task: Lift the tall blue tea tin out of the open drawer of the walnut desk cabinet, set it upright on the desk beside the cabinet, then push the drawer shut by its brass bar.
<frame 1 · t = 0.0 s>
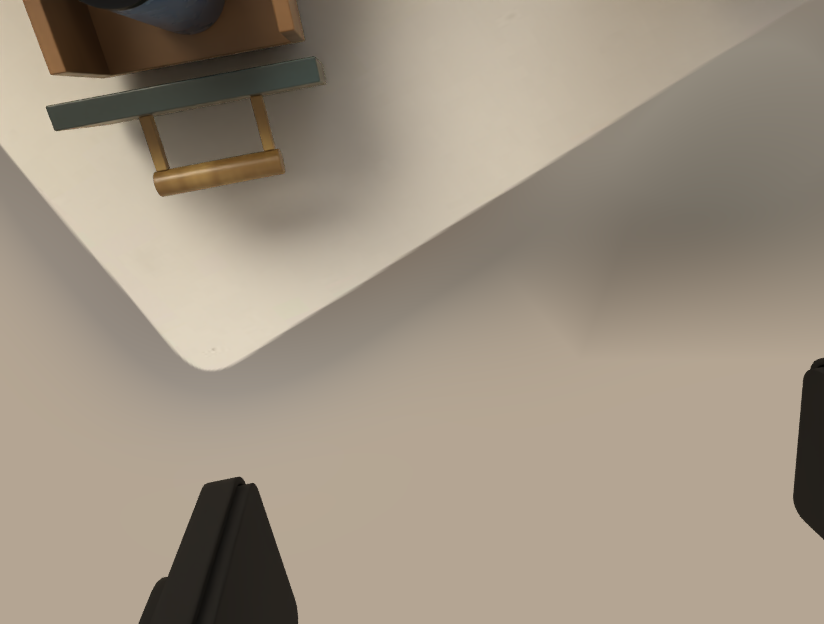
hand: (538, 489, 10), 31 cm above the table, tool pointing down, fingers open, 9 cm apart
drawer: (175, 2, 30), point 4 cm above the table, slide at 10.0 cm, touching tin
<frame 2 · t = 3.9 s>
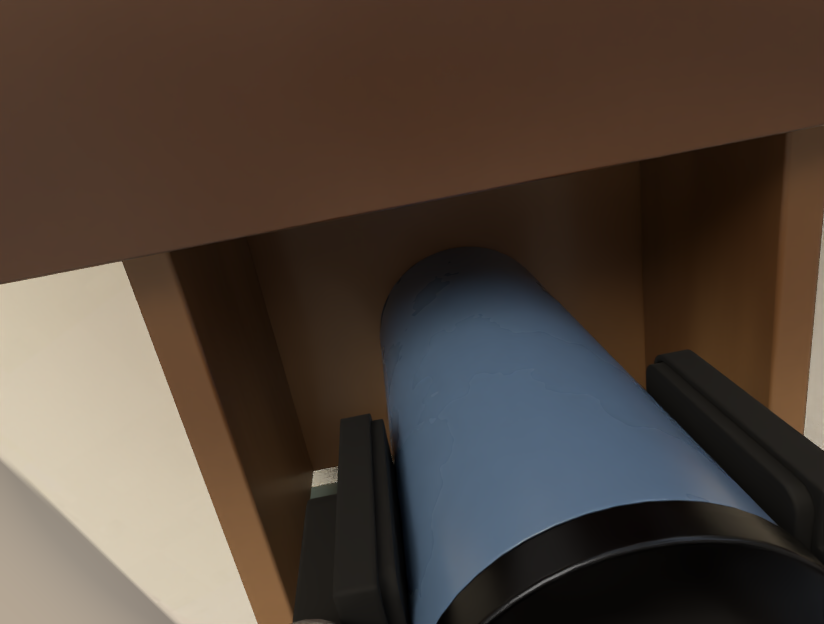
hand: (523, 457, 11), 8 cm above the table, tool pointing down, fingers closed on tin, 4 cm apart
drawer: (486, 402, 15), point 4 cm above the table, slide at 10.0 cm, touching tin
tin: (464, 328, 16), point 2 cm above the table, touching drawer, gripper
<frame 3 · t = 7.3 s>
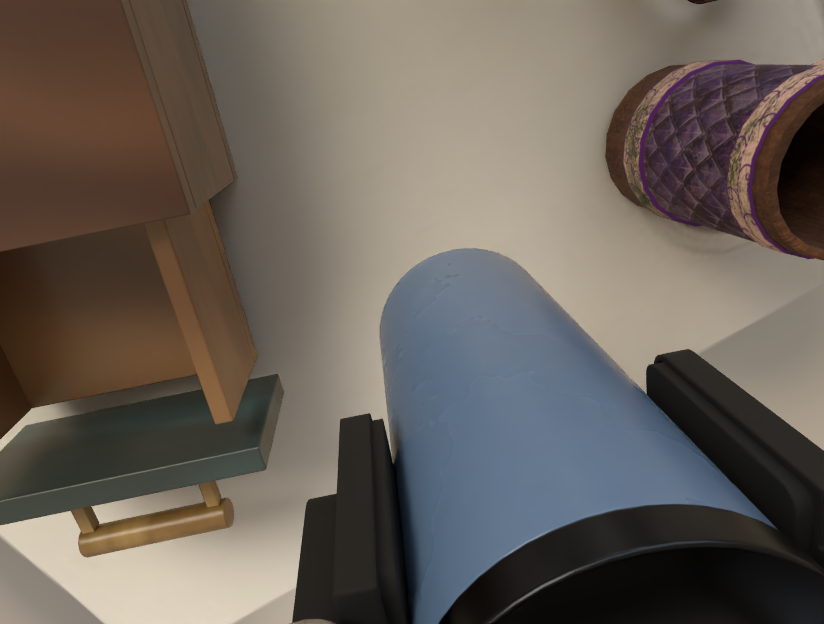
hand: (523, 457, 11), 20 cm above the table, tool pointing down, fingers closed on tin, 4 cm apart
drawer: (97, 361, 26), point 4 cm above the table, slide at 10.0 cm
mug: (696, 123, 29), on the table
tin: (464, 330, 16), point 14 cm above the table, touching gripper
cabinet: (15, 28, 24), on the table
when the fingers open (6 cm above the table, at t = 10.7 s): tin stays where it is, on the table.
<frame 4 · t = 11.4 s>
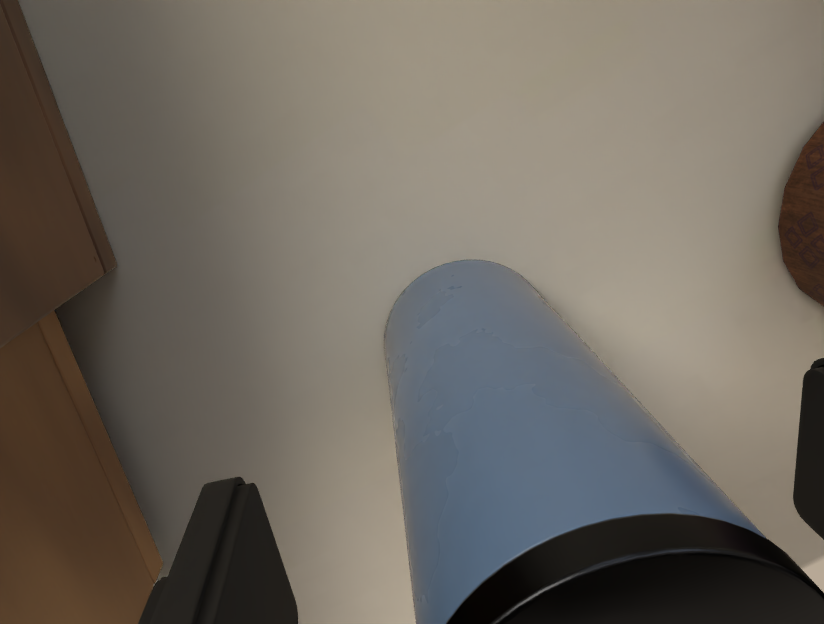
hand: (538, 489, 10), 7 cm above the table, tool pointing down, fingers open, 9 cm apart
tin: (466, 339, 17), on the table
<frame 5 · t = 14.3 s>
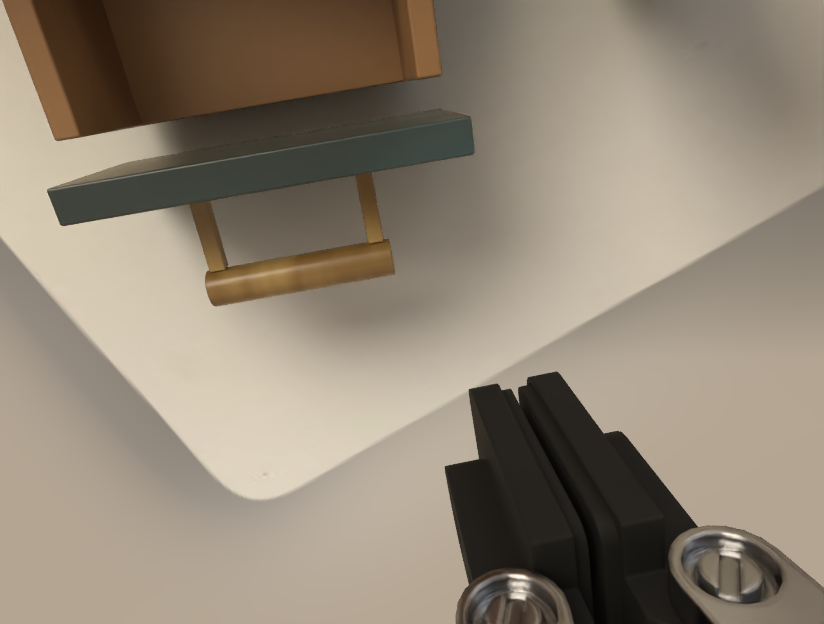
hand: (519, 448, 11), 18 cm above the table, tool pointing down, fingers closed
drawer: (246, 25, 20), point 4 cm above the table, slide at 10.0 cm
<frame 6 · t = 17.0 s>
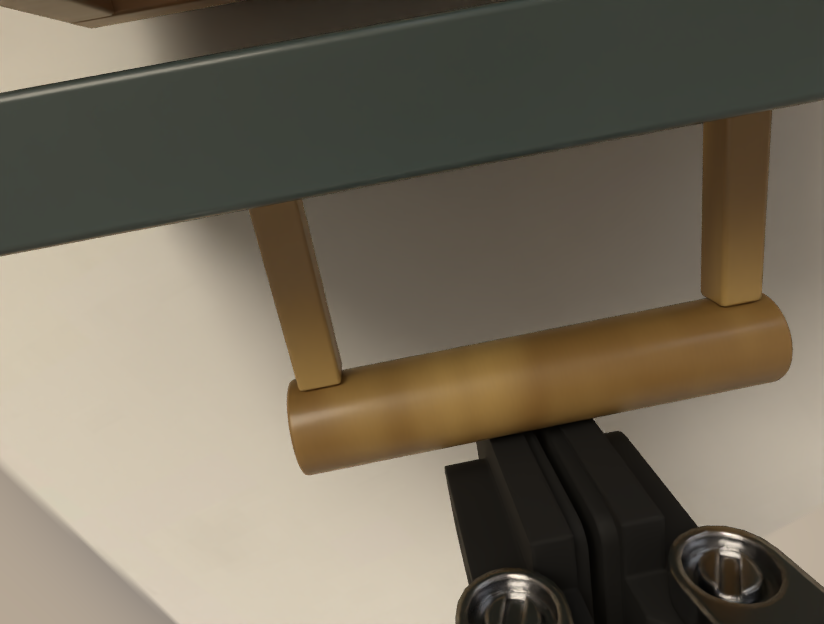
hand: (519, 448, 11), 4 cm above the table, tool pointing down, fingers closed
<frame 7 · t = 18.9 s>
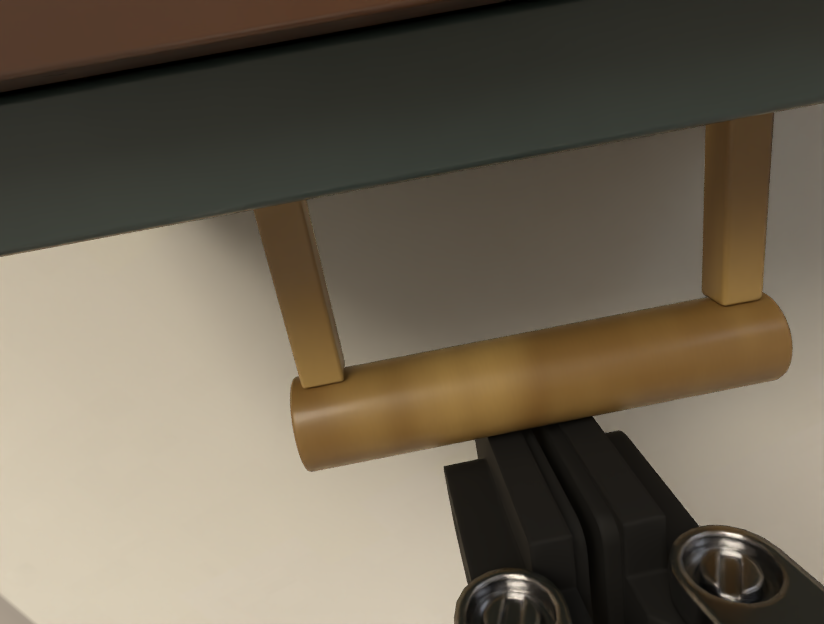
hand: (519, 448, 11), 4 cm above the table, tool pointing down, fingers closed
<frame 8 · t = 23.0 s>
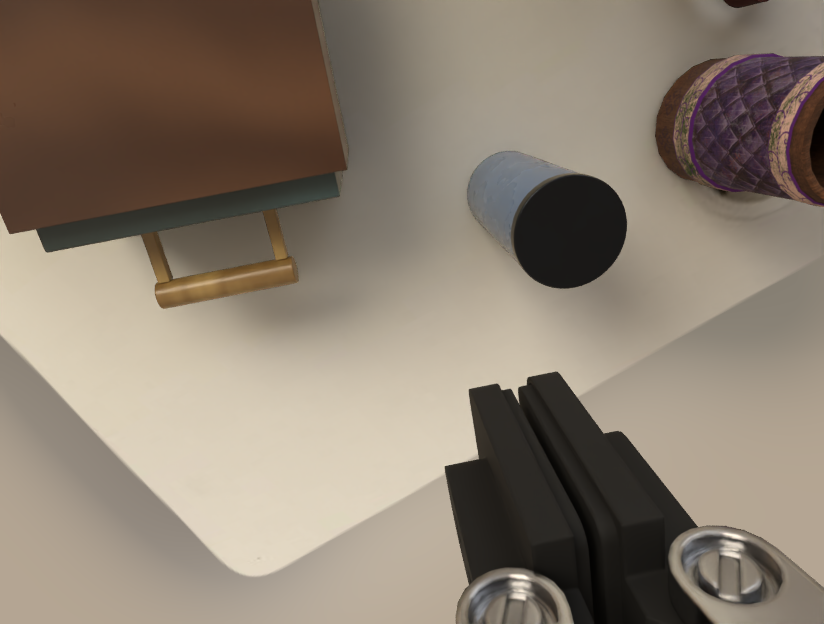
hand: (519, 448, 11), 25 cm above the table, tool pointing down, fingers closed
drawer: (178, 104, 27), point 4 cm above the table, slide at 0.0 cm, touching cabinet
mug: (731, 108, 34), on the table
tin: (506, 192, 34), on the table
cabinet: (178, 24, 30), on the table
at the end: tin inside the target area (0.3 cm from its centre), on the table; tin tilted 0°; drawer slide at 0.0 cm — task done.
